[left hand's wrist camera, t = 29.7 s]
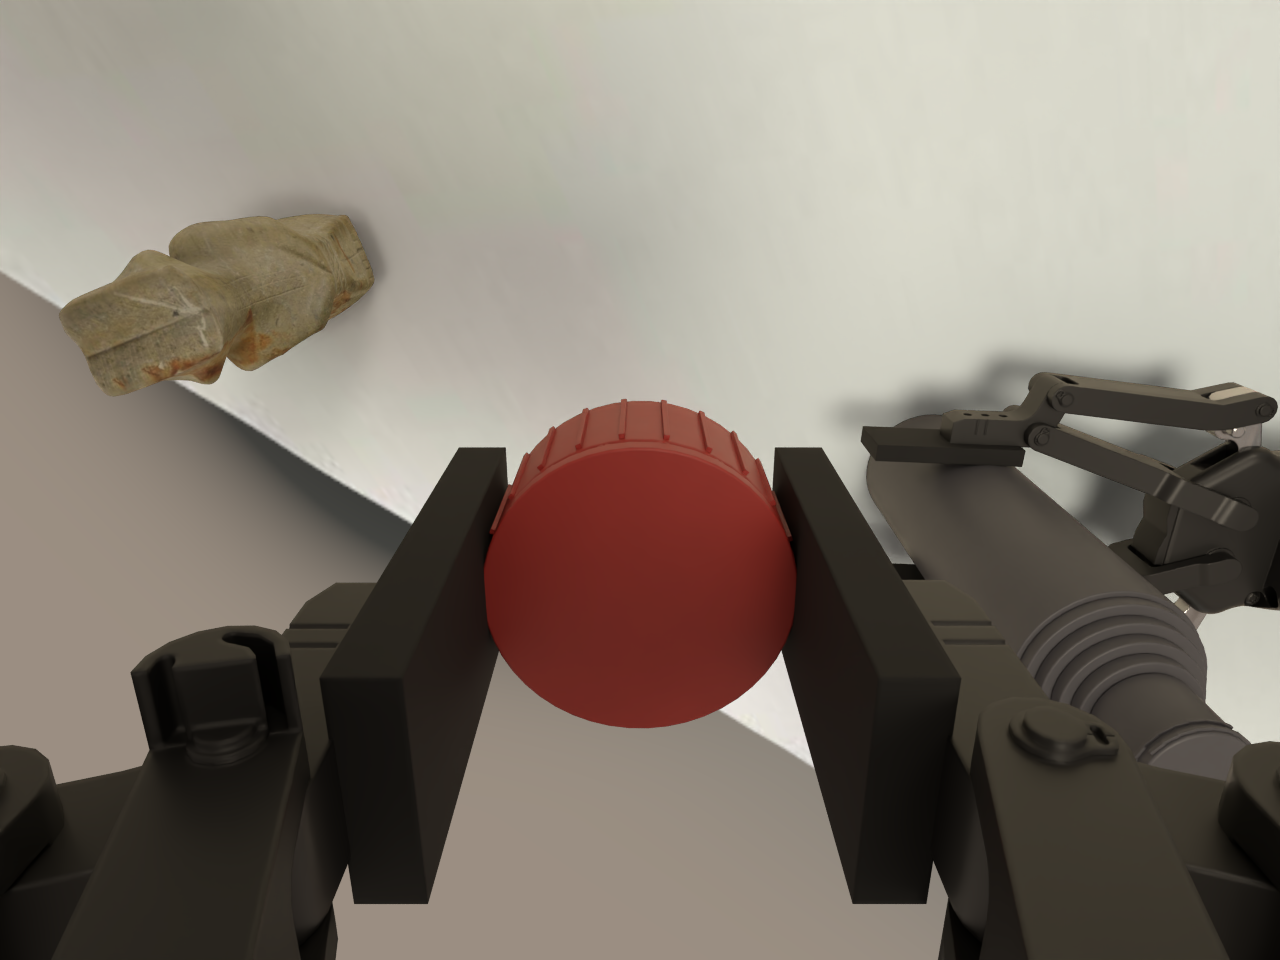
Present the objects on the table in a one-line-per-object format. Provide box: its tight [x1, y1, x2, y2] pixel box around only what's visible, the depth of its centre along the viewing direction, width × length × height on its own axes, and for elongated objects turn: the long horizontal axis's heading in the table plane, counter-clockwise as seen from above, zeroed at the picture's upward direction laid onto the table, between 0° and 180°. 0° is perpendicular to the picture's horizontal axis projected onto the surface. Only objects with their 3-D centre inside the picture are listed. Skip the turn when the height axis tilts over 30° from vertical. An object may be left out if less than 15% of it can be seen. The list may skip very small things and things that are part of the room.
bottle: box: [867, 415, 1251, 781], centre depth 35 cm, size 6×6×24 cm
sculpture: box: [59, 214, 374, 396], centre depth 35 cm, size 6×7×15 cm
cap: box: [484, 399, 797, 728], centre depth 13 cm, size 4×4×2 cm
